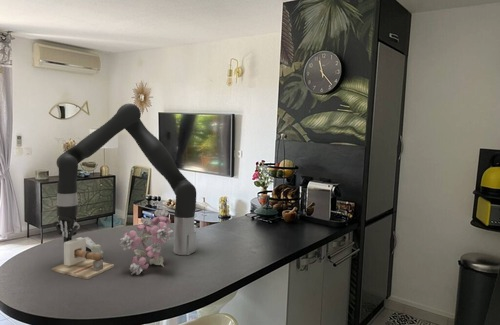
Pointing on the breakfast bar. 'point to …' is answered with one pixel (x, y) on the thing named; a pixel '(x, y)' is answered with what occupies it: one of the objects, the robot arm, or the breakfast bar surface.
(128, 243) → the flower
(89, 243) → the light grey long piece
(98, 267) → the pipe rig
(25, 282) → the breakfast bar surface
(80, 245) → the collar
